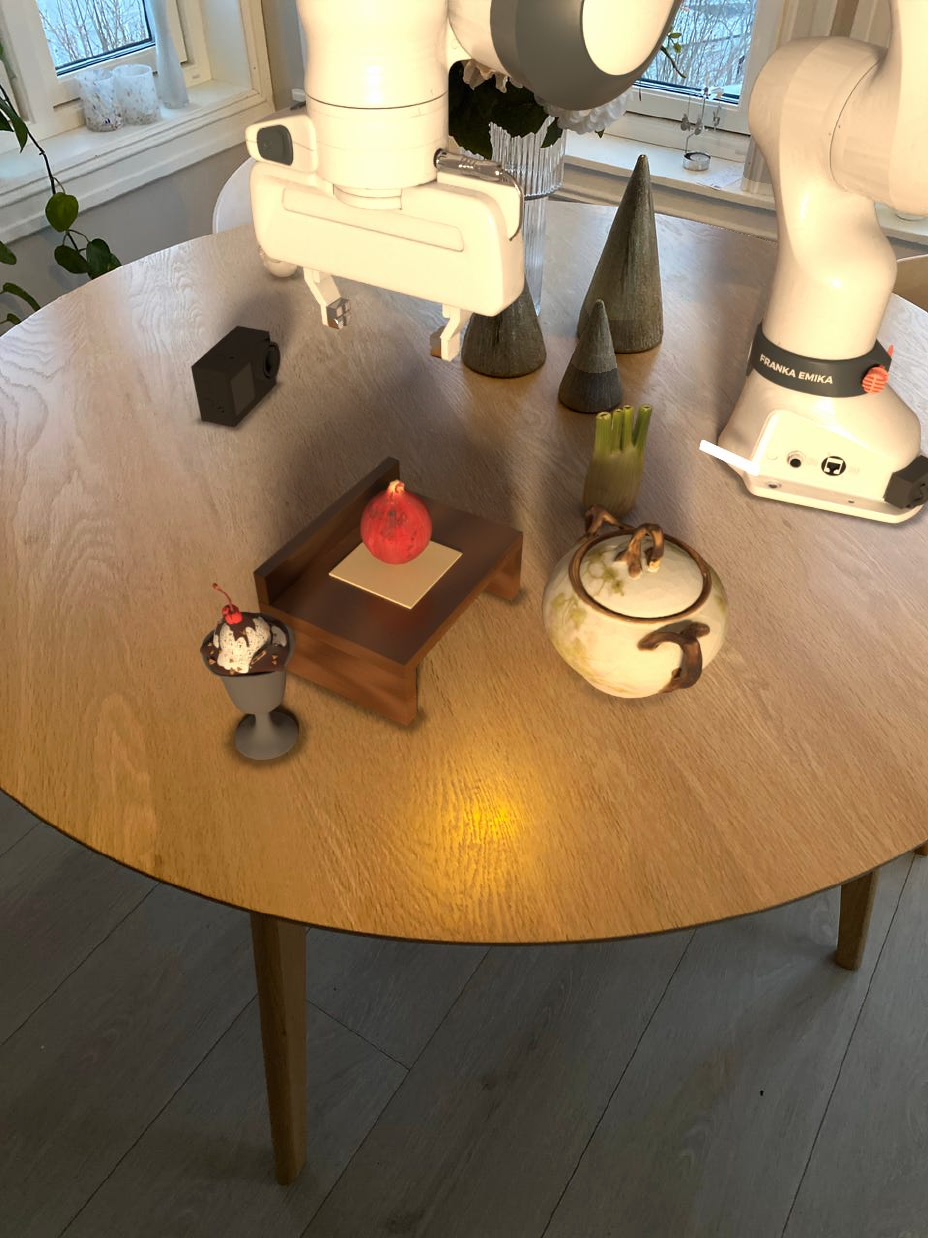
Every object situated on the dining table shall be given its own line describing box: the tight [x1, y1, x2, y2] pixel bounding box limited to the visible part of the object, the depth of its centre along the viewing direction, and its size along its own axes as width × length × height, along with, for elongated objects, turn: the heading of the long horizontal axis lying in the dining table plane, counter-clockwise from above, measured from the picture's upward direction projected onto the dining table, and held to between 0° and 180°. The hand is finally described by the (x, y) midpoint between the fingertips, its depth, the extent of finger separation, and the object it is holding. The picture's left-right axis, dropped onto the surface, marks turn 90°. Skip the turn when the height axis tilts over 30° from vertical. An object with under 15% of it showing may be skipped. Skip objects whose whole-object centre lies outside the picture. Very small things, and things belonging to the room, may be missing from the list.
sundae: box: [199, 582, 299, 761], centre depth 70 cm, size 7×7×15 cm
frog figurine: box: [257, 244, 300, 278], centre depth 135 cm, size 6×7×7 cm
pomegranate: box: [360, 479, 433, 565], centre depth 77 cm, size 6×6×8 cm
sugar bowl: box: [541, 504, 731, 699], centre depth 77 cm, size 20×15×15 cm
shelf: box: [252, 455, 525, 728], centre depth 81 cm, size 14×19×10 cm
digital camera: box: [190, 325, 281, 428], centre depth 109 cm, size 10×5×7 cm, turn 161°
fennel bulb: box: [581, 404, 654, 520], centre depth 93 cm, size 6×5×12 cm
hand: (389, 339), depth 70 cm, fingers open, 8 cm apart
